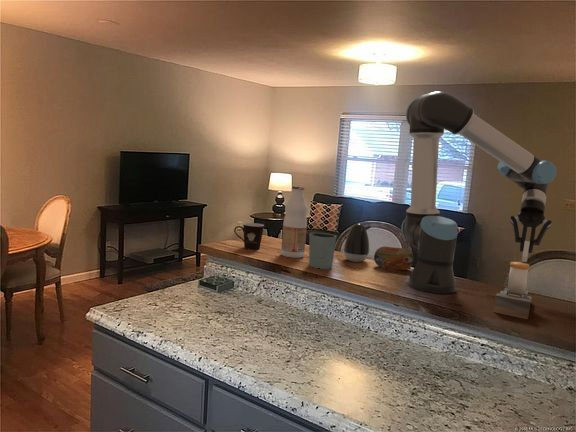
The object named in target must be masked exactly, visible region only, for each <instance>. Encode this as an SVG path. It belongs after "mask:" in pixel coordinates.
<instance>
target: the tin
mask: <svg viewBox="0 0 576 432" xmlns="http://www.w3.org/2000/svg"><path fill="white" fill-rule="evenodd" d="M373 260H374V262H375V264H376V265H377V266H378V267H379V268H382V269H387V270H388V269H390V270H398V271H407V270H409V269H410V268H411V267H413V265H414V262H415V255H414V254H413V252H412V251H411V250H409V249H408V248H405V247H404V248H403V247H394V246H386V245H385V246H381V247H378V248H377V249H376V250H375V252H374V255H373Z"/></svg>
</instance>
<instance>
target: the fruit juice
mask: <svg viewBox="0 0 576 432" xmlns="http://www.w3.org/2000/svg"><path fill="white" fill-rule="evenodd" d="M291 190H292V192H291V194H290V196H289V199H288V201H287V202H286V204H285V207H284V213H285V216H284V219H283V226H282V236H281V237H282V238H281V249H280V254H281V256H283V257H286V258H291V259H292V258H293V259H301V258H304V256H305V251H306V241H307V236H306V235H307V228H308V220H307V214H308V212H309V207H308V204H307V202H306V198H305V193H304V191H305V186H304V185H303V186H301V185H292V187H291Z"/></svg>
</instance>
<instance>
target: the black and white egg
mask: <svg viewBox="0 0 576 432" xmlns="http://www.w3.org/2000/svg"><path fill="white" fill-rule="evenodd" d="M370 228H371V225H367V226H364V224H362V223H359V222H358V223H355V224H353V225H352V226H351V228H350V229H349V231H348V234H347V235H346V239H345V240H344V241H345V242H344V245H343V252H344V256H345V259H347V260H349V261H350V262H353V263H362V262H364V261H366V259H367V258H368V256H369V254H370V239H369V236H368V235H369V234H368V231H367V230H369V229H370Z"/></svg>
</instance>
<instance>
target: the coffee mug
mask: <svg viewBox="0 0 576 432" xmlns="http://www.w3.org/2000/svg"><path fill="white" fill-rule="evenodd" d="M242 225H243V226H241V225H238V226H235V227H234V230H233V232H234V234H235V235H236V237H238V239H240V240H241V241H242V242H243V243H244V244H243V245H244V247H243V248H244V249H245V250H249V249H250V250H251V251H258V250H260V248H261V243H262V238H263V233H264V228H265V224H262V223H256V222H255V223H254V222H245V223H243V224H242ZM238 228H240V229H241V230H242V231H243V237H241V236H240V235H239V234H238V233H237V231H236V229H238Z"/></svg>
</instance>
